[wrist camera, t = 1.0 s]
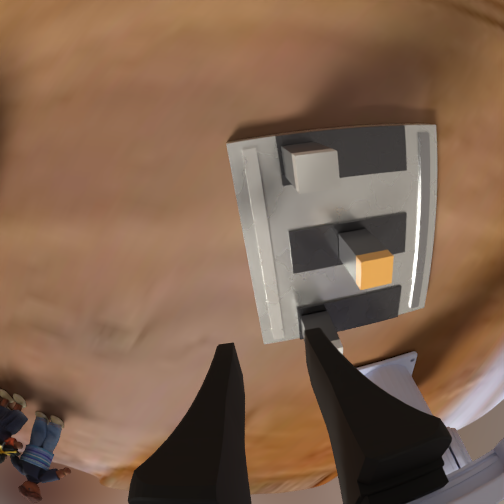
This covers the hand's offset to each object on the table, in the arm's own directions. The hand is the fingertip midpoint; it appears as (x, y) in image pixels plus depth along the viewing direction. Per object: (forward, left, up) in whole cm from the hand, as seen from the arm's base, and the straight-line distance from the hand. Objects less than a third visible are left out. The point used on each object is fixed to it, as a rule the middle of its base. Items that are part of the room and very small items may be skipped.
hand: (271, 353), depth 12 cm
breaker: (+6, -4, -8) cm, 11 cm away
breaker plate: (0, -7, -10) cm, 12 cm away
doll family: (-18, +37, -10) cm, 43 cm away
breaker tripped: (0, -7, -8) cm, 11 cm away
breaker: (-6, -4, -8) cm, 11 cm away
